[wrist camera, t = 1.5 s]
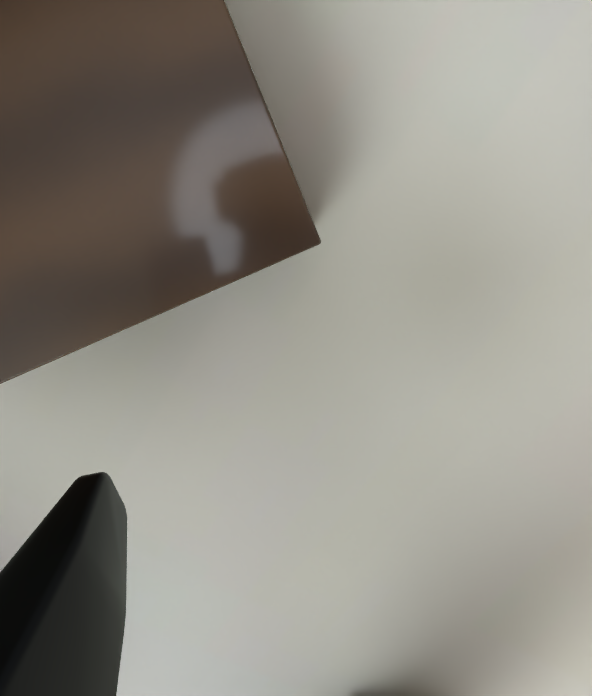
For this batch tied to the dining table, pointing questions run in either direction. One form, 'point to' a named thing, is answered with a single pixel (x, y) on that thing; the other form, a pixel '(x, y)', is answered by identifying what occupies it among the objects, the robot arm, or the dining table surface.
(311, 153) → the dining table surface
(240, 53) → the brown wooden stand
